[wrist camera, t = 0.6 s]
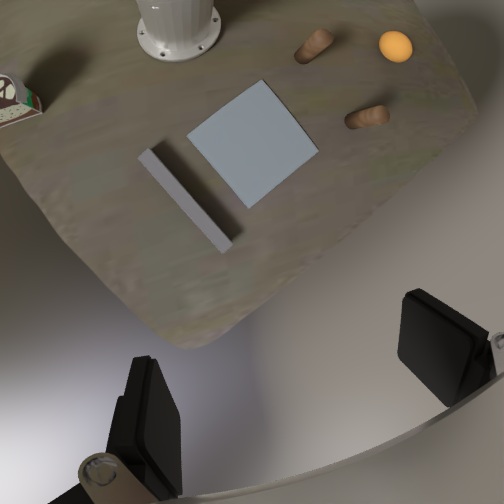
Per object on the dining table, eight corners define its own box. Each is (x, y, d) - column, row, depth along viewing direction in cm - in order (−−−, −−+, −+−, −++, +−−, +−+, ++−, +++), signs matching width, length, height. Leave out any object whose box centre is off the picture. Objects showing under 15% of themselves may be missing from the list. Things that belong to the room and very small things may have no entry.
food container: (52, 75, 33) (23, 58, 23) (51, 111, 35) (19, 99, 25) (-4, 96, 31) (-37, 87, 22) (-5, 130, 33) (-40, 126, 23)
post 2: (341, 119, 43) (371, 110, 35) (352, 111, 43) (382, 102, 35) (350, 132, 44) (381, 126, 35) (361, 123, 44) (392, 117, 35)
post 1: (290, 54, 39) (311, 32, 31) (302, 47, 39) (324, 25, 30) (301, 66, 40) (323, 47, 31) (313, 59, 40) (337, 40, 31)
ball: (366, 43, 40) (385, 32, 34) (385, 32, 40) (404, 22, 34) (386, 70, 42) (406, 62, 36) (404, 58, 42) (424, 51, 36)
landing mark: (186, 136, 40) (186, 135, 40) (261, 79, 40) (261, 79, 39) (248, 208, 44) (248, 208, 44) (318, 151, 44) (318, 151, 44)
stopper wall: (140, 158, 40) (137, 157, 37) (151, 149, 40) (148, 147, 37) (221, 249, 45) (222, 253, 43) (231, 240, 45) (233, 244, 43)
